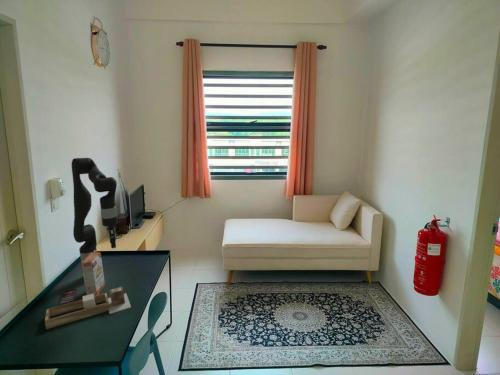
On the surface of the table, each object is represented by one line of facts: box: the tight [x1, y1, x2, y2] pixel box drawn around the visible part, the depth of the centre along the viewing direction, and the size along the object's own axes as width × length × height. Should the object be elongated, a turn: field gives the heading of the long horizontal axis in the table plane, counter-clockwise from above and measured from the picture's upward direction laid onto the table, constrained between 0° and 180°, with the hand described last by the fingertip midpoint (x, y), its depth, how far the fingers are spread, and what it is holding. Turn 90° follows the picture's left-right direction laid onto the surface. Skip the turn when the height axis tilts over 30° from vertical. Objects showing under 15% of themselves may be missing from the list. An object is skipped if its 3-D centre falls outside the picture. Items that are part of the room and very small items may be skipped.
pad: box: [108, 292, 132, 315], centre depth 160 cm, size 16×10×1 cm, turn 30°
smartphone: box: [58, 288, 78, 306], centre depth 170 cm, size 7×1×15 cm
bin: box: [44, 292, 110, 330], centre depth 153 cm, size 12×27×4 cm, turn 120°
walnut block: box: [109, 286, 125, 306], centre depth 160 cm, size 6×5×7 cm
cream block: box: [82, 293, 97, 309], centre depth 155 cm, size 6×5×7 cm
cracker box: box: [81, 251, 106, 296], centre depth 172 cm, size 14×6×21 cm, turn 8°
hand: (113, 245), depth 163 cm, fingers open, 8 cm apart
